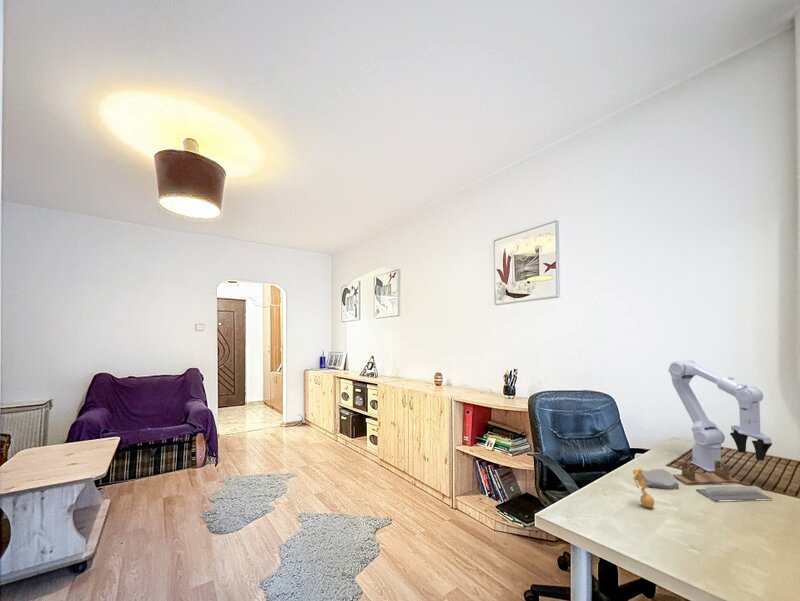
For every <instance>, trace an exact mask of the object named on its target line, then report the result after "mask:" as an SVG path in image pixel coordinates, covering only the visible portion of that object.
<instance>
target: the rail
mask: <svg viewBox="0 0 800 601" xmlns="http://www.w3.org/2000/svg"><path fill="white" fill-rule="evenodd" d="M705 489H706V494H708V495H710V496H724V495H758V494H761V493H762V488H760V487H759V486H756V485H751V486H750V485H748V486H744V485H741V486H739V485H738V486H712V487H710V486H709V487H705Z"/></svg>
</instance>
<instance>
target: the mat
mask: <svg viewBox="0 0 800 601" xmlns="http://www.w3.org/2000/svg"><path fill="white" fill-rule="evenodd" d="M695 491H696V492H698V493H699V494H700V493H701V494H700V495H702V494H703V495H702V496H704V495H705V496H707V497H709V498H711V499H712V500H714V501H719V500H756V499H772V500H773V498H772V497H770V496H768V495H767V494H764V493H762V492H761V494H758V495H724V496H710V495H708V494H706V488H697V489H695ZM705 496H704V497H705ZM707 497H706V498H707ZM709 498H708V499H709ZM712 500H711V501H712ZM714 501H713V502H714Z"/></svg>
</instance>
